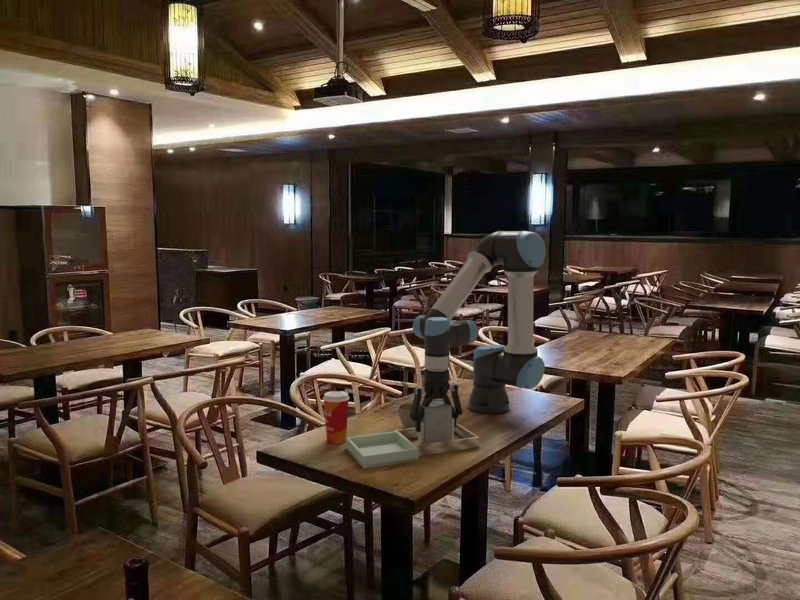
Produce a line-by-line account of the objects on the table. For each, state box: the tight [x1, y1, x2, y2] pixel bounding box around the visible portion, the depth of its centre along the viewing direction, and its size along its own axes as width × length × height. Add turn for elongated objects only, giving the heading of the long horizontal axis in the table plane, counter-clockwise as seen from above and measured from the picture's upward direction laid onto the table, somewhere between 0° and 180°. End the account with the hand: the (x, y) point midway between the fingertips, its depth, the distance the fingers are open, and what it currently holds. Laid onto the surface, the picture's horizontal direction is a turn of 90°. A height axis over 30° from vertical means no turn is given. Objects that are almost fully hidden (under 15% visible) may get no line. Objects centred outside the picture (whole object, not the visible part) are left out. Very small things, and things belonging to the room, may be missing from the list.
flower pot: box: [397, 402, 421, 429], centre depth 208 cm, size 10×10×7 cm
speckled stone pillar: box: [420, 399, 453, 445], centre depth 194 cm, size 10×10×12 cm
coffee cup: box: [322, 390, 350, 445], centre depth 195 cm, size 8×8×15 cm
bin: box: [345, 430, 420, 470], centre depth 184 cm, size 17×17×4 cm
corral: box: [393, 422, 480, 457], centre depth 194 cm, size 22×16×3 cm
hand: (435, 439), depth 194 cm, fingers closed on speckled stone pillar, 9 cm apart
